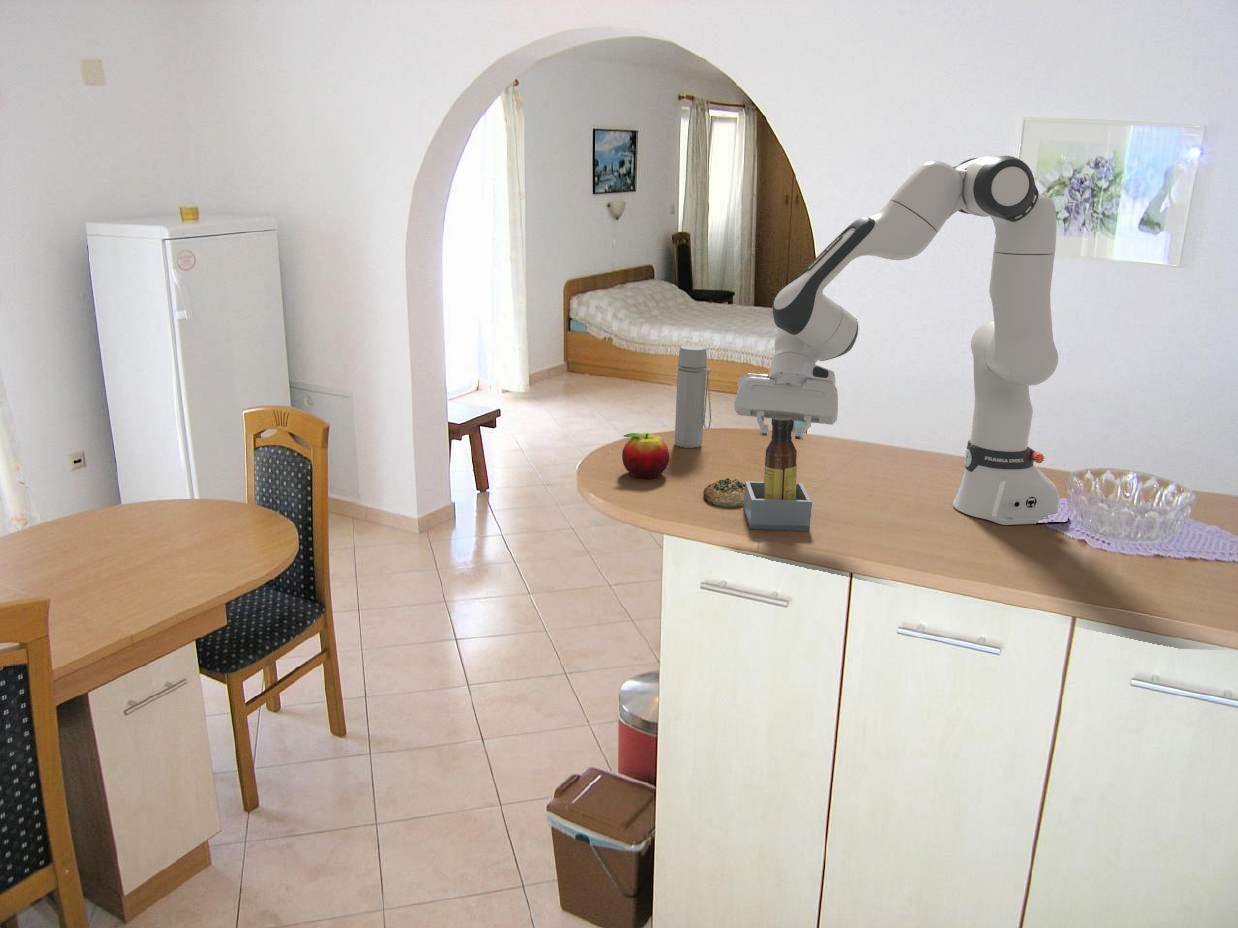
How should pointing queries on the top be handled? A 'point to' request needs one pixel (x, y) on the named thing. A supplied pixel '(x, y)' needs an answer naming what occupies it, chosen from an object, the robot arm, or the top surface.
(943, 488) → the top surface
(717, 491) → the bread roll
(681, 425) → the water bottle
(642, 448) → the fruit
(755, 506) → the bin
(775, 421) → the sauce bottle
